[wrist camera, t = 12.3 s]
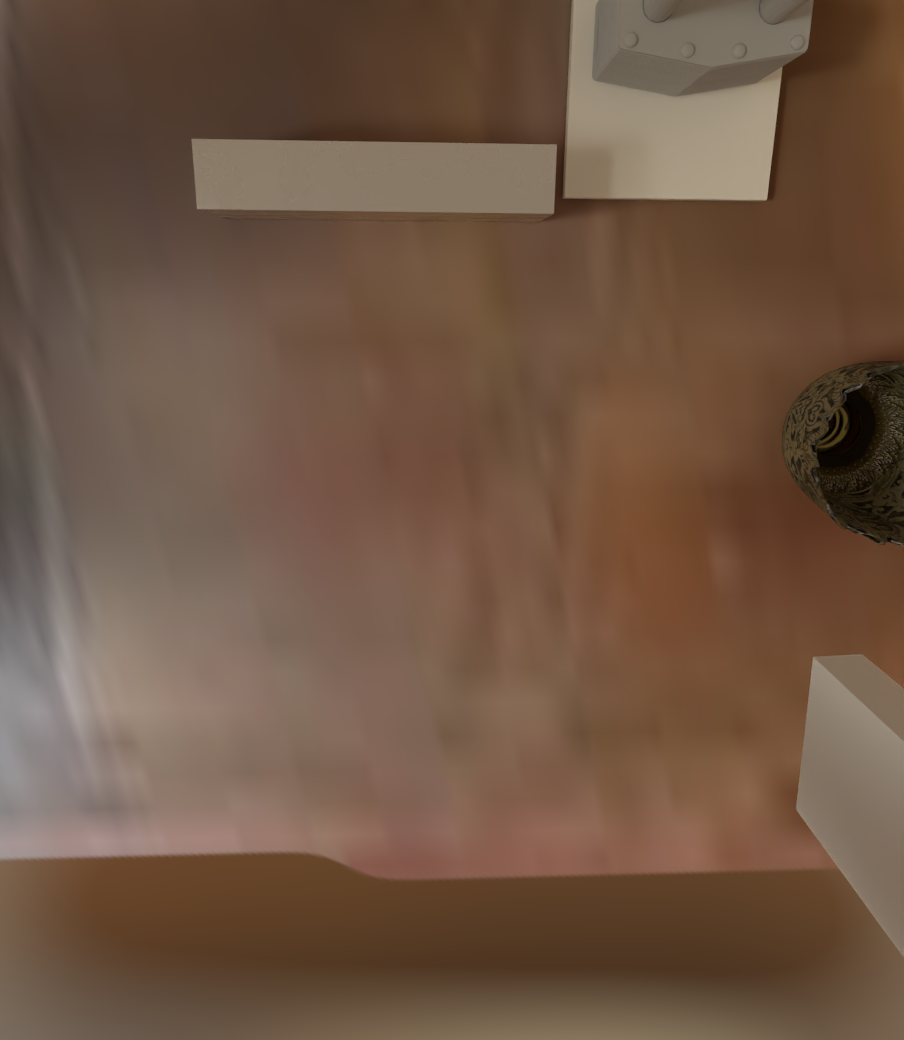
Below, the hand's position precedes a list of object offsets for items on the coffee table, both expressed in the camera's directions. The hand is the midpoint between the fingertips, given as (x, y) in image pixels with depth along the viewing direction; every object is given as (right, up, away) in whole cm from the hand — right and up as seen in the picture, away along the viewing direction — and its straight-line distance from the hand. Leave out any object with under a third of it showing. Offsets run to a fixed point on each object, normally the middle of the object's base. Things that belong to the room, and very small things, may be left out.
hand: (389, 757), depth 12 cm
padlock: (+10, +24, +21) cm, 33 cm away
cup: (+19, +8, +27) cm, 34 cm away
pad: (+10, +24, +22) cm, 34 cm away
